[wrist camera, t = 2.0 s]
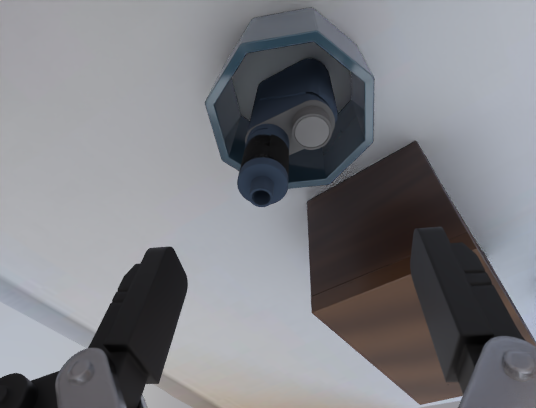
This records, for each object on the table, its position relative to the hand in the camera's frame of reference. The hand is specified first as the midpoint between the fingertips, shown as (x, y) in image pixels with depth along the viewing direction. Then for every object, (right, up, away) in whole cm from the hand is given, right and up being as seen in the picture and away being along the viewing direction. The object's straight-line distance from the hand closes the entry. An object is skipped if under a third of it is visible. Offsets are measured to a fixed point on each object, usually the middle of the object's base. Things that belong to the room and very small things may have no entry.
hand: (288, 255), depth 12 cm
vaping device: (+1, +10, +12) cm, 16 cm away
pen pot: (+1, +10, +12) cm, 16 cm away
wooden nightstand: (+12, -1, +20) cm, 23 cm away
